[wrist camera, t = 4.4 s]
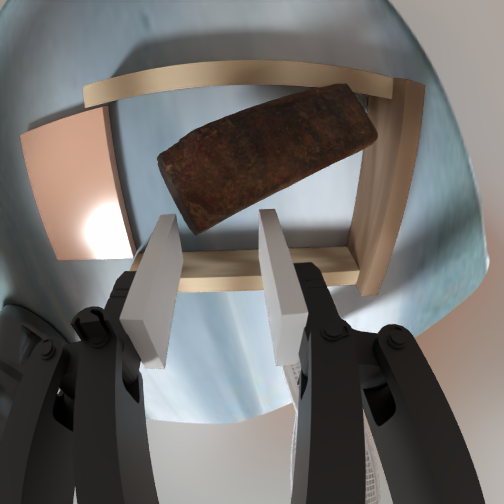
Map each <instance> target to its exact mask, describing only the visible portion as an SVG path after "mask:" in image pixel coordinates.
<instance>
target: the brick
mask: <svg viewBox="0 0 504 504" xmlns="http://www.w3.org/2000/svg"><path fill="white" fill-rule="evenodd" d="M377 138H378V132H377V130H376V128H375V127H374V125H373V123H372V122H371V120H370V118H369V117H368V115H367V113H366V112H365V110H364V109H363V107H362V106H361V104H360V103H359V101H358V100H357V98H356V96H355V95H354V93H353V92H352V90H351V88H350V87H349V85H348V84H346V83H345V84H341V83H339V84H332V85H329V86H325V87H320V88H316V89H311V90H307V91H304V92H300V93H296V94H293V95H289V96H285V97H282V98H279V99H276V100H272V101H269V102H266V103H263V104H260V105H257V106H253V107H250V108H247V109H245V110H242V111H239V112H237V113H235V114H232V115H229V116H226V117H223V118H221V119H219V120H216V121H213V122H211V123H208V124H206V125H204V126H202V127H199V128H197V129H195V130H193V131H191V132H190V133H188V134H187V135H186V136H184V137H183V138H181V139H180V140H179V142H178V143H176V144H174V145H173V146H172V147H170V148H169V149H168V150H166V151H164V152H162V153H160V154H159V156H158V157H157V161H158V166H159V169H160V172H161V175H162V177H163V179H164V181H165V184H166V186H167V188H168V190H169V192H170V194H171V196H172V198H173V200H174V202H175V204H176V206H177V208H178V209H179V211H180V213H181V214H182V216H183V219H184V221H185V222H186V224H187V226H188V227H189V229H190V230H191V231H192V232H193V234H194V235H198V234H200V233H202V232H204V231H206V230H208V229H209V228H211V227H213V226H215V225H216V224H218V223H220V222H222V221H223V220H225V219H227V218H229V217H230V216H232V215H234V214H236V213H238V212H239V211H241V210H243V209H245V208H247V207H249V206H251V205H253V204H255V203H257V202H259V201H261V200H263V199H265V198H267V197H269V196H270V195H272V194H274V193H276V192H278V191H280V190H282V189H285V188H287V187H289V186H291V185H292V184H294V183H296V182H298V181H300V180H302V179H304V178H306V177H308V176H310V175H312V174H314V173H315V172H317V171H319V170H321V169H323V168H325V167H328V166H329V165H331V164H333V163H336V162H338V161H340V160H342V159H344V158H346V157H348V156H351V155H353V154H355V153H357V152H359V151H361V150H363V149H365V148H367V147H369V146H371V145H372V144H373V143H374V142H375V141H376V140H377Z"/></svg>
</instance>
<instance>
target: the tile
mask: <svg viewBox="0 0 504 504" xmlns="http://www.w3.org/2000/svg"><path fill="white" fill-rule="evenodd" d="M20 139H21V144H22V149H23V154H24V159H25V163H26V168H27V172H28V176H29V180H30V183H31V187H32V190H33V194H34V197H35V200H36V204H37V207H38V210H39V213H40V216H41V219H42V222H43V224H44V227H45V230H46V233H47V235H48V238H49V240H50V243H51V245H52V248H53V250H54V253H55V255H56V257H57V260H88V259H120V258H134V256H135V254H136V252H137V251H136V247H135V243H134V240H133V236H132V232H131V228H130V224H129V220H128V216H127V212H126V208H125V203H124V199H123V194H122V190H121V185H120V180H119V175H118V169H117V164H116V158H115V152H114V146H113V139H112V132H111V125H110V116H109V107H108V106H104V107H100V108H96V109H92V110H88V111H85V112H82V113H78V114H75V115H72V116H69V117H65V118H62V119H59V120H57V121H54V122H51V123H48V124H45V125H43V126H40V127H38V128H35V129H33V130H30V131H28V132H25V133H23V134H21V135H20Z"/></svg>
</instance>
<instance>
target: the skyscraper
mask: <svg viewBox="0 0 504 504" xmlns="http://www.w3.org/2000/svg"><path fill="white" fill-rule="evenodd" d="M281 368H282V371H283V374H284V378H285V381H286V384H287V387H288V390H289V393H290V396H291V399H292V402H293V405H294V408H295V410H296V415H295V421H294V429H293V436H292V447H291V463H290V468H291V469H290V479H291V480H290V481H291V495H292V488H293V477H294V466H295V453H296V439H297V423H298V403H299V385H297V382H298V378H299V375H300V371H301V363H300V359H299V358H298V362H297V364H292V365H282V366H281ZM364 434H365V458H366V500H365V504H380V486H379V475H378V468H377V463H376V458H375V454H374V450H373V446H372V443H371V440H370V436H369V434H368V431H367V428H366V426H365V423H364Z"/></svg>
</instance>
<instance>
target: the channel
mask: <svg viewBox="0 0 504 504" xmlns="http://www.w3.org/2000/svg"><path fill="white" fill-rule="evenodd" d="M339 83H341V84H345V83H346V84H348V85H349V87H350V88H351V90H352V92H355V93H361V94H367V95H368V108H367V115H368V117H369V118H370V120H371V122H372V123H373V125H374V127H375V128H376V130H377V132H378V138H377V140H376V141H375V142H374V143H373V144H372V145H371V146H369V147H367V148H365V149H363V156H362V163H361V170H360V177H359V183H358V190H357V196H356V202H355V207H354V213H353V218H352V223H351V228H350V233H349V238H348V243H347V246H346V247H315V248H288V249H289V252H290V255H291V259H292V262H293V263H302V262H312V263H313V264H314V265H316V266H317V267H318V268H319V269H320V271H321V273H322V275H323V278H324V281H325V282H326V285H327V286H341V285H354V284H356V286H357V288H358V290H359V292H360V294H361V296H372V295H377V294H378V292H379V289H380V286H381V284H382V281H383V278H384V275H385V273H386V270H387V267H388V264H389V261H390V258H391V255H392V252H393V249H394V246H395V242H396V239H397V236H398V232H399V229H400V225H401V222H402V218H403V214H404V211H405V207H406V203H407V199H408V194H409V190H410V186H411V181H412V176H413V172H414V167H415V161H416V156H417V150H418V144H419V137H420V130H421V123H422V115H423V105H424V94H425V85H423V84H420V83H417V82H414V81H411V80H408V79H401V78H392V77H388V76H384V75H380V74H376V73H371V72H366V71H362V70H356V69H351V68H345V67H339V66H332V65H325V64H317V63H307V62H296V61H279V60H226V61H210V62H198V63H189V64H181V65H173V66H166V67H160V68H154V69H149V70H144V71H139V72H134V73H130V74H125V75H121V76H117V77H113V78H110V79H106V80H102V81H99V82H95V83H92V84H89V85H86V86H83V93H84V103H85V108H87V107H91V106H95V105H99V104H103V103H107V102H111V101H115V100H120V99H124V98H129V97H134V96H139V95H144V94H150V93H156V92H162V91H169V90H177V89H185V88H195V87H207V86H222V85H289V86H305V87H316V88H320V87H325V86H329V85H332V84H339ZM143 254H144V253H143ZM143 254H137V256H136V258H135V260H134V262H133V264H132V266H131V269H130V271H137V269H138V267H139V264H140V262H141V259H142V257H143ZM182 254H183V260H184V261H183V266H182V271H181V276H180V281H179V286H178V291H177V292H223V291H252V290H264V287H263V281H262V275H261V268H260V262H259V249H255V250H226V251H198V252H182Z"/></svg>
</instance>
